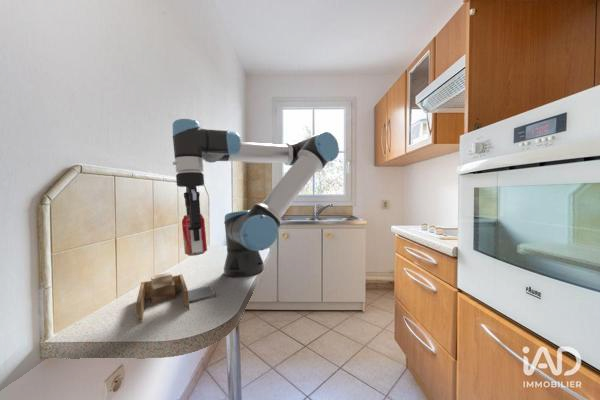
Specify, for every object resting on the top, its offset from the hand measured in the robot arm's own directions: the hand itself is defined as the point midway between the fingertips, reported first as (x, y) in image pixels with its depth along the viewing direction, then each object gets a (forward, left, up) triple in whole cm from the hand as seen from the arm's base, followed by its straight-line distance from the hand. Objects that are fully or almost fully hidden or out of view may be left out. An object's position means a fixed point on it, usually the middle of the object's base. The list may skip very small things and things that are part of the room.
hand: (196, 250), depth 73 cm
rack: (+9, 0, -14) cm, 16 cm away
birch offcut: (+9, -5, -10) cm, 15 cm away
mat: (0, 0, -14) cm, 14 cm away
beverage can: (0, -1, -2) cm, 2 cm away
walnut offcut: (+9, -5, -14) cm, 17 cm away
